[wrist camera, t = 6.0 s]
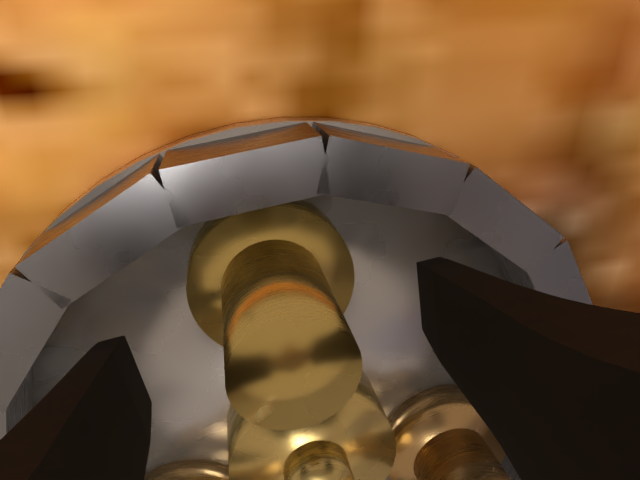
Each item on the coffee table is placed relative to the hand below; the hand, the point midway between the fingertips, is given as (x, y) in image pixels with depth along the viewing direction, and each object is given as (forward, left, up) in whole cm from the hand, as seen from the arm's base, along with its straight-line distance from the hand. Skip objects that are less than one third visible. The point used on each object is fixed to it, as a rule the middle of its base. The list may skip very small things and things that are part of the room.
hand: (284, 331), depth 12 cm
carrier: (0, +6, -4) cm, 7 cm away
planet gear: (0, 0, -3) cm, 3 cm away
